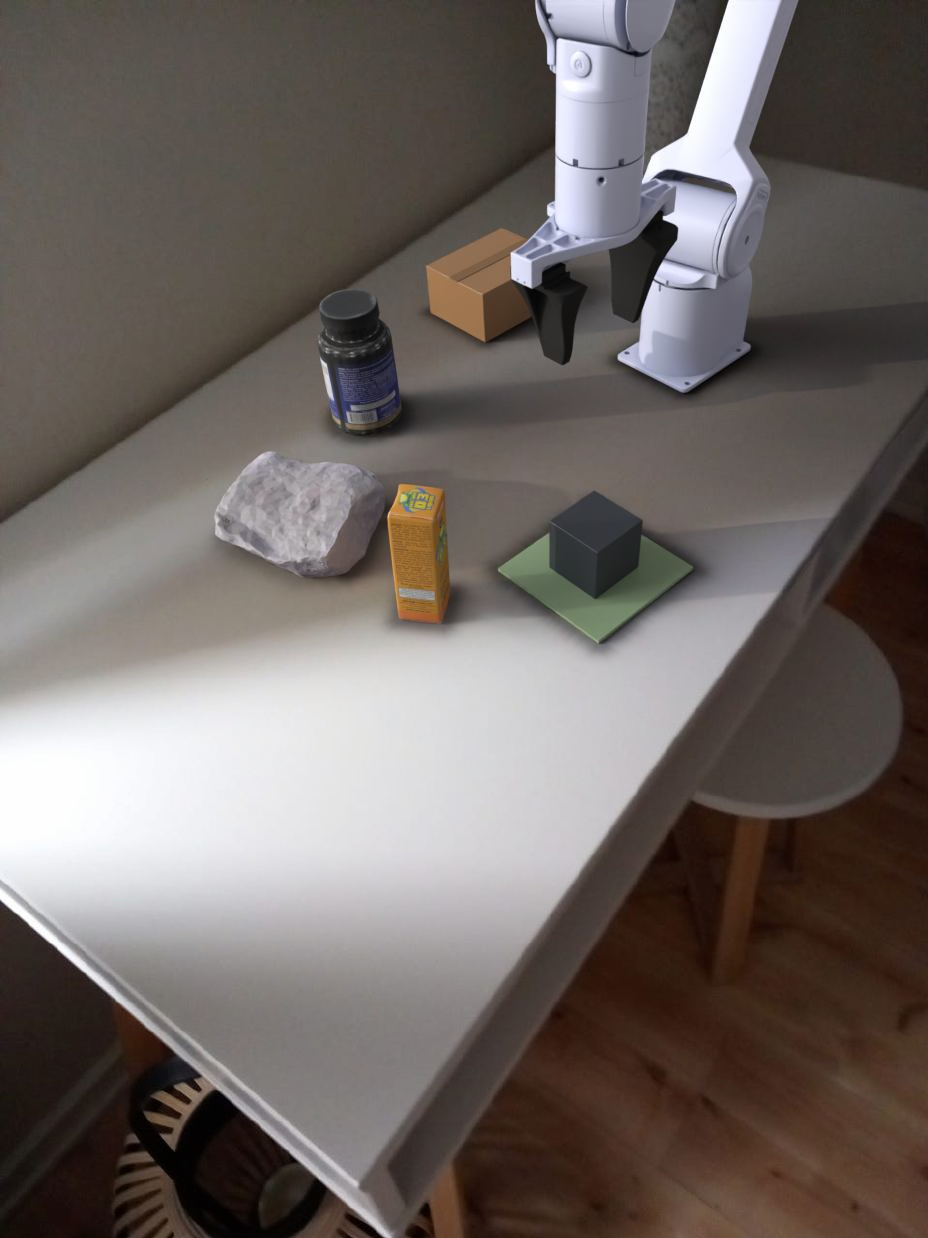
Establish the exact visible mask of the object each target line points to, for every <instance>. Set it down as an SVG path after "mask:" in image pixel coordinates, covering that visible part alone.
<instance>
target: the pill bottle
mask: <svg viewBox="0 0 928 1238" xmlns="http://www.w3.org/2000/svg"><path fill="white" fill-rule="evenodd" d="M318 310H319V317H320V321H321V324H322V325H323V327H322V328H321V330H320V331H319V333H318V336H317V348H318V355H319V358H320V364H321V369H322V373H323V378H324V383H325V388H326V393H327V397H328V403H329V406H330V411H331V416H332V421H333V424H334V425H335V426H336V427H337V428H338V429H339V430H340V431H343V432H344V433H347V434H350V435H353V436H363V437H364V436H372V435H378V434H381V433H384V432H386V431H388V430H390V429H392V427H394V426H395V425H396V424H397V423H398V422H399V420H400V419H401V417H402V399H401V394H400V393H401V392H400V386H399V378H398V372H397V365H396V358H395V353H394V352H395V350H394V344H393V338H392V334H391V330H390V327H389V326H388V324H387V323H385V322H384V321H383V320H382V319H381V318H380V312H381V311H380V308H379V301H378V299H377V297H376V295H375V294H374V293H373V292H371V291H369V290H366V289H362V288H346V289H341V290H337V291H334V292H332V293H330V294H328V295H327V296H325V297H324V298H323V299H322V300H321V301H320V303H319V307H318Z"/></svg>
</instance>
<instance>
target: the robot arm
mask: <svg viewBox="0 0 928 1238" xmlns="http://www.w3.org/2000/svg"><path fill="white" fill-rule="evenodd" d="M798 2H799V0H728V1H727V5H726V8H725V12H724V14H723V18H722V20H721V24H720V28H719V31H718V34H717V37H716V40H715V43H714V47H713V50H712V52H711V56H710V58H709V63H708V65H707V69H706V72H705V76H704V79H703V81H702V85H701V89H700V91H699V95H698V98H697V101H696V105H695V107H694V111H693V114H692V118H691V121H690V124H689V127H688V130H687V133H685V135H683V136H682V137H680V138H678V139H677V140H674V141H673V142H671V143H669V144H667V145H666V146H665V147H663V148H661V149H659V150H658V151H655V152H654V153H653V154H652V155H651V157H650V161H649V162H648V164H647V167H646V170H645V173H644V162H645V150H646V149H645V148H646V147H645V146H646V135H647V133H646V132H647V122H648V121H647V120H648V108H649V107H648V106H649V95H650V93H649V92H650V83H651V82H650V81H651V69H652V68H651V67H652V55H653V47H655V45H656V44H657V43H658V42H659V41H661V39H662V38H663V36H664V34H665V33H666V30H667V28H668V25H669V22H670V20H671V17H672V14H673V10H674V7H675V3H676V0H535V2H534V4H535V12H536V17H537V22H538V25H539V27H540V29H541V31H542V33H543V35H544V38H545V41H546V55H547V57H546V61H547V62H546V64H547V65H549V70H550V71H551V72H552V73H553V74H555V147H554V148H555V150H554V151H555V167H554V171H555V172H554V175H555V176H554V177H555V178H554V201H551V202H549V203H548V204H547V205H546V207H547V208H546V214H547V216H548V219H547V220H546V221H545V222H544V223H543V224H542V225H541V226H540V227H539V228H538V229H537V231H535V232H534V233H533V234H532V236H531V237H530V238H528V239H529V240H528V241H527V242H526V243H525V244H524V245H522V246H521V247H519V248H518V249H516V250H514V251H512V252H511V266H510V278H511V281H512V282H513V283H514V285H515V286H516V288H517V289H518V291H519V292H520V294H521V296H522V297H523V299H524V301H525V303H526V305H527V307H528V309H529V311H530V313H531V315H532V317H531V318H532V320H533V323H534V326H535V329H536V332H537V335H538V339H539V342H540V346H541V349H542V350H541V351H542V355H543V356H544V357H545V358H547V359H549V360H551V361H553V362H554V363H556V364H558V365H560V366H565V365H566V364H568V363H570V361H571V358H572V354H573V349H574V339H575V338H574V337H575V327H576V322H577V318H578V314H579V309H580V306H581V303H582V301H583V299H584V296H585V294H586V292H587V290H588V288H589V286H588V285H587V284H585V283H582V282H580V281H577V280H575V279H574V278H571V272H570V271H567V264H568V263H570V262H572V261H573V260H575V259H578V258H582V257H585V256H589V255H593V254H597V253H600V252H604V251H607V250H608V254H609V262H610V263H609V264H610V276H611V277H610V297H611V298H610V301H611V308H612V314H613V315H614V316H617V317H619V318H621V319H623V320H625V321H627V322H628V323H631V324H635V323H636V322H639V320H640V329H639V340H638V341H637V342H636V343H634V344H632V345H631V346H629V347H628V348H626V349H625V350H623V351H621V352H619V353H618V354H617V360H618V361H619V362H621V363H623V364H624V365H626V366H629V367H631V368H633V369H635V370H637V371H639V372H640V373H643V374H644V375H646V376H648V377H650V378H652V379H654V380H656V381H658V382H660V383H662V384H664V385H666V386H668V387H670V388H672V389H674V390H676V391H677V392H680V393H682V394H683V393H688V392H690V391H691V390H693V389H695V388H696V387H697V386H699V385H701V384H702V383H703V382H705V381H706V380H708V379H710V378H711V377H713V376H714V375H715V374H717V373H718V372H720V371H721V370H723V369H724V368H727V366H729V365H730V364H732V363H733V362H735V361H736V360H738V359H740V358H741V357H742V356H744V355H746V354H747V353H748V352H750V351H751V347H752V346H751V344H750V343H748V342H746V341H744V337H745V331H746V326H747V321H748V315H749V314H748V313H749V309H750V303H751V296H752V290H753V275H752V270H751V267H750V264H751V262H752V261H753V259H754V256H755V255H756V252H757V250H758V247H759V244H760V241H761V238H762V234H763V230H764V223H765V216H766V215H765V214H766V211H767V207H768V203H769V200H770V196H771V190H772V187H771V184H770V180H769V178H768V176H767V174H766V172H765V171H764V169H763V168H762V166H761V165H760V163H759V162H758V161H757V159H756V157H755V156H754V155H753V153H752V151H751V149H750V146H751V143H752V139H753V137H754V134H755V131H756V128H757V125H758V122H759V119H760V116H761V113H762V111H763V107H764V104H765V101H766V99H767V95H768V92H769V90H770V87H771V83H772V80H773V77H774V75H775V71H776V68H777V65H778V62H779V59H780V56H781V54H782V50H783V48H784V45H785V41H786V39H787V36H788V33H789V29H790V26H791V23H792V21H793V17H794V14H795V12H796V9H797V6H798ZM686 179H695V180H698V181H703V182H708V183H712V184H716V185H721V186H723V187H728V188H732V189H733V190H734V191H735V193H732V192H728V191H725V190H721V189H716V188H712V187H709V186H704V185H700V184H695V183H691V182H688V181H684V180H686ZM640 317H641V318H640Z"/></svg>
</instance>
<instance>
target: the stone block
mask: <svg viewBox="0 0 928 1238" xmlns="http://www.w3.org/2000/svg"><path fill="white" fill-rule="evenodd" d="M385 492H386V491H385V487H384V486H383V484H381V481H380V480H379V479H378V478H377V477H376V475H375V474H374V473H373V472H372V471H371V470H368V469H366V468H364V467H363V468H362V467H360V466H359V465H357V464H350V463H346V462H345V463H342V462H334V461H323V462H317V463H316V462H315V463H308V462H303V461H301V460H298V459H291V458H289V457H287V456H285V455H283V454H281V453H279V452H276V451H269V450H268V451H266V452H263V453H261V454H260V455H258V456H257V457H256V458H255V459H253V461H251V462H250V463H247V465H246V467H245V468H244V469H243V470H242V472H241V473H240V474H239V475H238V476H237V477H236V479H235V480H234V482H233V483H232V484H231V485H230V486H229V488H228V489H227V490H226V491H225V492H224V494H223V496H222V497H221V499H220V502H219V503H218V505H217V506H216V509H215V511H214V514H213V520H214V523H215V525H214V526H215V527H214V528H215V532H214V534H215V536H216V537H217V538H218V539H220V541H222V542H226V543H229V544H231V545H233V546H238V547H240V548H241V549H243V550H245V551H247V552H248V553H251V554H253V555H254V556H258V557H260V558H262V559H264V560H265V561H266V562H268V563H270V564H272V565H275V566H277V567H279V568H280V569H282V570H286V571H289V572H291V573H293V574H294V575H295V576H298V577H300V578H304V579H314V578H325V577H327V578H328V577H336V576H340V575H344V574H347V573H348V572H349V571H350V570H351V569H352V568H353V567H354V566H355V565H356V564H357V563H358V562H359V561H360V560H361V559H363V558H364V557H365V555H366V553H367V549H368V546H369V544H370V541H371V538H372V536H373V533H374V532H375V531H376V530H377V528H378V527H377V526H378V524H379V522H380V520H381V518H382V515H383V513H384V511H385V508H386V493H385Z"/></svg>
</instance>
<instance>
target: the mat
mask: <svg viewBox="0 0 928 1238" xmlns="http://www.w3.org/2000/svg"><path fill="white" fill-rule="evenodd" d="M693 570H694V566H693V565H691V564H689V563H688V562H686V561H685V560H683V559H681V558H680V557H678V556H676V555H675V554H674V553H672V552H670V551H668V550H667V549H666V548H664V547H662V546H661V545H659V544H657V543H656V542H654V541H653V540H651V539H649V538H648V537H646V536H645V535H643V534H641V544H640V554H639V564H638V567H637V568H636V569H635V570H633V571H632V572H631V573H629V574H628V575H627V576H625V577H624V578H623V579H621V580H620V581H619V582H617V583H616V584H615V585H614V586H612V587H611V588H610V589H608V590H607V591H606V592H604V593H603V594H602V595H600V596H599V597H598V598H596V599H594V598H593V597H591V596H590V595H588V594H587V593H585V592H584V591H582V590H581V589H580V588H578V587H577V586H575V585H574V584H572V583H571V582H570V581H568V580H567V579H565V578H564V577H562V576H561V575H559V574H558V573H557V572H555V571H554V570H552V569H551V568H550V567H549V532H547V534H545V535H543V536H542V537H541V538H540V539H538V540H536V541H535V542H534V543H532V544H531V545H529V546H527V548H525V549H524V550H522V551H520V552H519V553H518V554H517V555H515V556H514V557H512V558H510V559H509V560H508V561H506V562H505V563H503V564H502V565H501V566H499V567H497V571H498V572H499V573H500V574H501V575H503V576H504V577H506V578H507V579H509V580H510V581H511V582H513V584H515V585H517V586H518V587H519V588H521V589H522V590H524V592H526V593H528V594H529V595H530V596H532V597H533V598H534V599H536V600H537V601H538V602H540V603H541V604H542V605H544V606H546V607H547V608H548V609H549V610H551V611H552V612H554V613H555V614H557V615H558V616H560V617H561V618H562V619H564V620H565V621H566V622H568V623H569V624H570V625H572V626H573V627H575V628H576V629H577V630H579V631H580V632H581V633H583V634H584V635H585V636H586V637H589V638H590V639H591V640H593V642H595V643H597V644H600V643H602V642H603V641H604V640H606V639H607V638H608V637H609V636H610V635H612V634H613V633H615V632H616V631H617V630H618V629H620V628H621V627H622V626H623V625H624V624H626V623H627V622H628V621H630V620H631V619H632V618H633V617H635V616H636V615H637V614H639V613H640V612H641V611H642V610H644V609H645V608H646V607H647V606H649V605H650V604H651V603H653V602H654V601H655V600H657V599H658V598H659V597H660V596H661V595H663V593H666V592H667V591H668V590H669V589H670V588H672V587H674V586H675V584H677V583H678V582H680V581H681V580H682V579H683V578H685V577H686V576H687V575H688V574H689V573H691V572H692V571H693Z"/></svg>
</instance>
